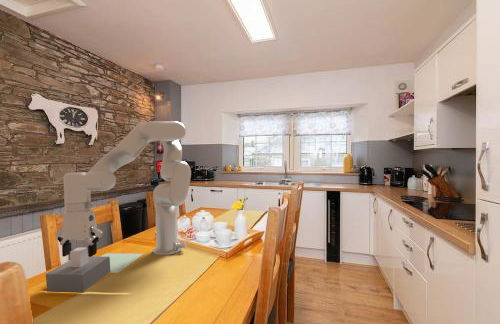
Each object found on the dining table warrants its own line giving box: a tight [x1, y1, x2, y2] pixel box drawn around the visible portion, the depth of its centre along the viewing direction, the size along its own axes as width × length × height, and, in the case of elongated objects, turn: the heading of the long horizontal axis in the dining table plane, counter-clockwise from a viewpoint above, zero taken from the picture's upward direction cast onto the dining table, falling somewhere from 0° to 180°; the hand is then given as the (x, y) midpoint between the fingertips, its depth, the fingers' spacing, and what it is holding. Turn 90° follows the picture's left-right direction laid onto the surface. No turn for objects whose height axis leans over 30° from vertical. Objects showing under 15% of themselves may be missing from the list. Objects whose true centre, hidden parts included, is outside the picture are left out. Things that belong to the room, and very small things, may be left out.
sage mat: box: [100, 252, 144, 274], centre depth 99 cm, size 18×18×1 cm
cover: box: [45, 247, 111, 294], centre depth 84 cm, size 13×13×12 cm
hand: (79, 255), depth 84 cm, fingers open, 9 cm apart
